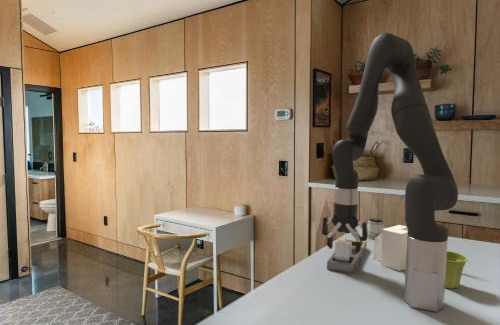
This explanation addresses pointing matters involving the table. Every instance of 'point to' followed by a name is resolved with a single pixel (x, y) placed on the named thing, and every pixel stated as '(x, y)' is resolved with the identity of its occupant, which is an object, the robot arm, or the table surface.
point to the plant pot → (454, 269)
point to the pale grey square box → (343, 251)
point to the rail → (347, 266)
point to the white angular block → (392, 247)
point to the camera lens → (375, 228)
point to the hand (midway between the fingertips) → (343, 250)
